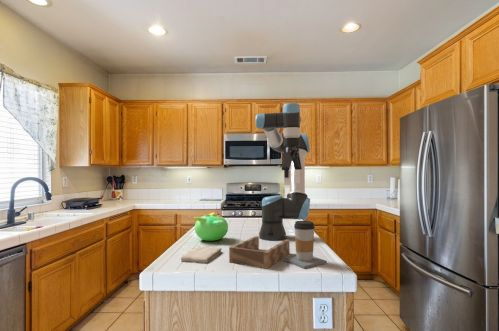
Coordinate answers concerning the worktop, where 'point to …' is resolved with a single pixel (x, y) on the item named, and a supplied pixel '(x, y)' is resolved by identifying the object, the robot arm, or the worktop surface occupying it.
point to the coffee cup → (304, 240)
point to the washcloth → (201, 254)
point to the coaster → (303, 264)
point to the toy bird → (211, 227)
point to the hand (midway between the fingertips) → (292, 184)
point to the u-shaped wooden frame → (257, 253)
